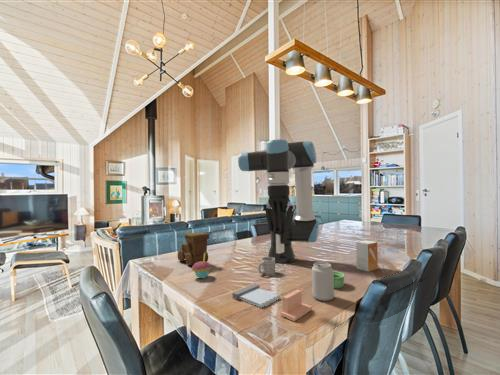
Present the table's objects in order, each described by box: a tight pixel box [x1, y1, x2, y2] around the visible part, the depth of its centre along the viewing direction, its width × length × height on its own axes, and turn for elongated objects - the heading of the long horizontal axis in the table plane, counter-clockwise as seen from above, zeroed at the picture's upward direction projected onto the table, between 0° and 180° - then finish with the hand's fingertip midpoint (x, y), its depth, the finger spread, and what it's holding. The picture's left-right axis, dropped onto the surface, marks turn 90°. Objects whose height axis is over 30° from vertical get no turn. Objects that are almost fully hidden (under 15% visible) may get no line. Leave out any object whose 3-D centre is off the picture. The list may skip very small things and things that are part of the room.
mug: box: [257, 256, 276, 276], centre depth 119 cm, size 10×7×7 cm, turn 135°
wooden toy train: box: [176, 231, 210, 266], centre depth 140 cm, size 20×11×17 cm, turn 40°
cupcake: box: [191, 253, 212, 279], centre depth 116 cm, size 9×8×12 cm
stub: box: [280, 289, 313, 322], centre depth 80 cm, size 5×10×6 cm, turn 136°
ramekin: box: [333, 270, 346, 289], centre depth 103 cm, size 9×9×4 cm
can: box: [311, 261, 335, 302], centre depth 91 cm, size 8×8×12 cm
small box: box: [355, 240, 379, 273], centre depth 122 cm, size 8×6×13 cm
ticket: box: [232, 283, 281, 309], centre depth 92 cm, size 13×12×2 cm
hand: (280, 252), depth 88 cm, fingers closed
